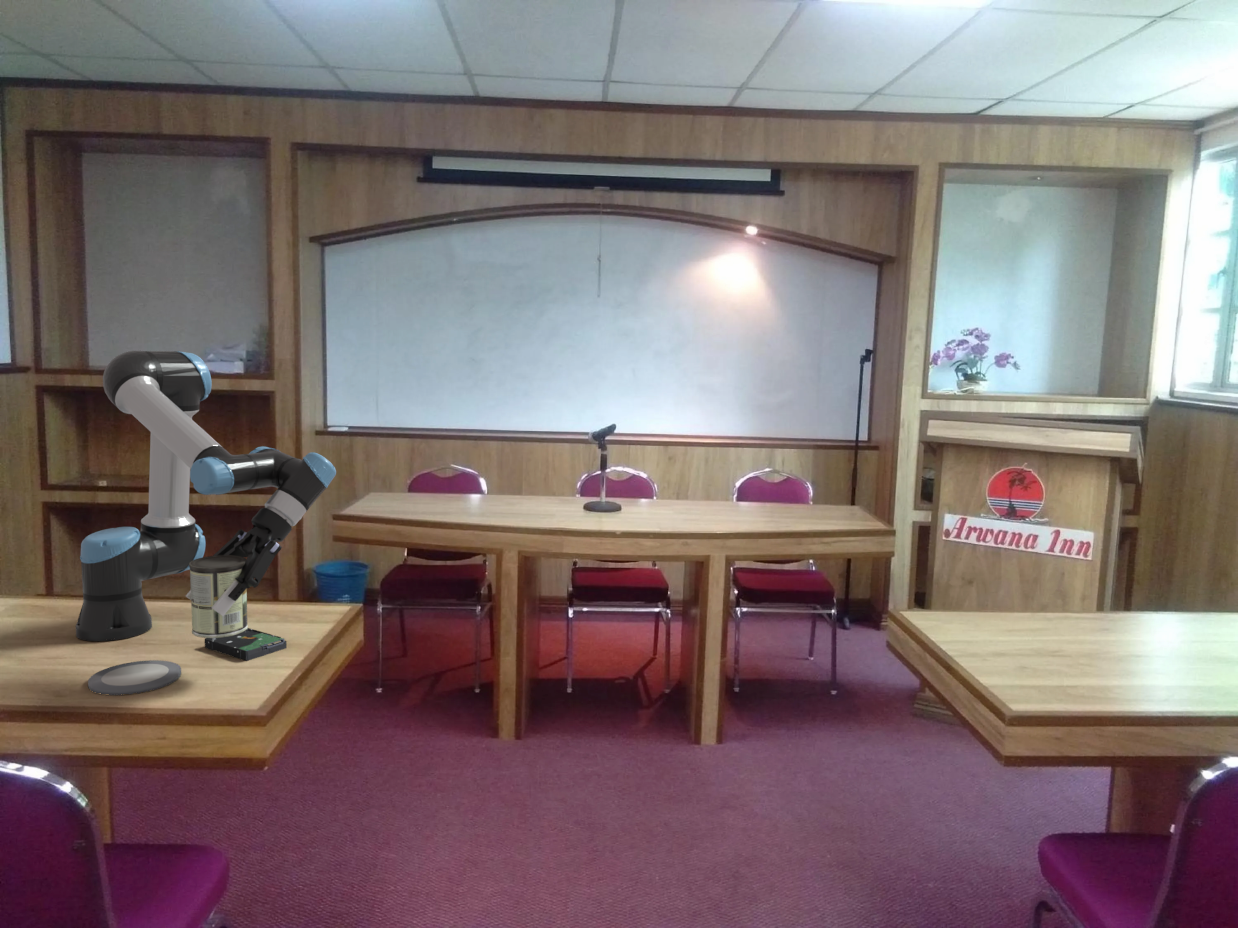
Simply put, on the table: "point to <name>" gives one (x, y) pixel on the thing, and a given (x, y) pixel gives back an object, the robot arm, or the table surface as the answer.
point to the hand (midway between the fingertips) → (203, 605)
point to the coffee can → (216, 596)
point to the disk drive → (246, 644)
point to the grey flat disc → (134, 677)
